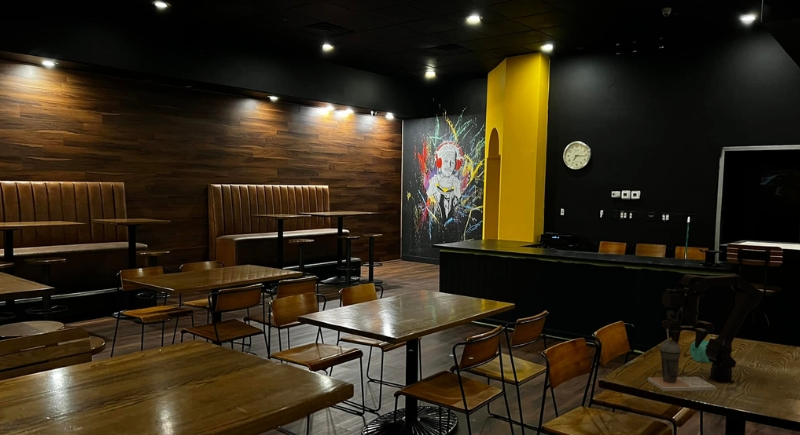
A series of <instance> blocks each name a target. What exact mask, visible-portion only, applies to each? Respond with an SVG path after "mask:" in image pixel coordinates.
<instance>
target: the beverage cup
mask: <svg viewBox="0 0 800 435" xmlns="http://www.w3.org/2000/svg"><path fill="white" fill-rule="evenodd" d="M666 336H667V340H665V341H663V342H662V344H661V345H660V347H659V353H660V358H661V360H660V361H661V370H662V371H661V372H662V374H661V375H662V377H663V381H664V382H667V383H676V380H677V377H678V370H679V364H680V363H679V362H680V357H681V348H680V345H679V343H678V344H677V343H676V342H675V341H672V339H670V333H669V332H668V329H667V330H666Z"/></svg>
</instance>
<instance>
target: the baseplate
mask: <svg viewBox="0 0 800 435" xmlns="http://www.w3.org/2000/svg"><path fill="white" fill-rule="evenodd" d="M647 382H649V383H650V384H652V385H653V386H655V387H657V388H658V389H659V390H661V391H663V392H688V391H689V392H691V391H693V392H694V391H695V392H696V391H717V386H715V385H713V384H711V383H710V382H708V381H706V380H704V379H703V378H700V377H699V376H677V380H676V383H667V382H664V381H663V376H661V377H647Z"/></svg>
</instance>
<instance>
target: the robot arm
mask: <svg viewBox="0 0 800 435" xmlns="http://www.w3.org/2000/svg"><path fill="white" fill-rule="evenodd" d="M716 287H731V289H732V290H733V292H735V293H736V294H735V297H734V302H735V305H734V307H733V309H732V311H731V313H730V314H729V316H728V318H727V320H726V322H725V324H724V326H723V327H722V329H721V331H720V333H719V335H718V336H716V338H712V337H711V338H710V339H709V340H708V341H709V342H708V344H707V345H706V346H705V347H707V348H706V350H705V352H706V355H707V357H708V359H709V362H712V363H711V367H710V376H708V378H709V379H710V380H712V381H714V382H716V383H719V384H720V383H724V384H725V383H735V380H733V377H732V376H733V368H736V366H737V361H736V360H735V359H734V358H733V357H732V356H731V355H732V352H733V349H732V348H733V341H734V339H735V337H736V335H737V334H738V332H739V331H740V328H741V326H743V323H744V321H745V320H746V317H747V315H748V313H749V312H750V311H751V310H753V309H754V308H756V307H757V306H758V305H759V303H760V302H761V301H762V299H763V293H762V291H761V290H760V289H759V288H757V287H756V286H755V285H753V284H752V283H750V282H749V281H747V280H746V279H745V278H744V277H743V276H742V275H740V274H732V273H731V274H725V275H712V276H711V275H710V276H709V275H708V276H701V275H695V274H684V275H682V277H681V279H680V281H679V282H678V283H677V285H676V286H675V287H674V289H670V288H666V289H665V292H663V294H662V296H661V303H662V305H663V306H664V307H665V308H678V310H677V312H675V311H674V310H672V309H671V310H667V311H666V319H665V320H663V321H662V322H661V328H663V329H664V330H666V331H667V329H668V333H669V336H670V338H671V340H672V341H675V342H676V343H677V344H678V345H679V341H680V338H681V337H680V336H681V331H680V330H681V329H693V330H694V332H695V339H694V341H695V348H698V347H699V345H700V344H701V343H702V341H703V340H704V341H705V338H706V337H707V336H708V335H709V334H711V333H712V332H714V330H715V327H714V325H713V323H712V322H708V321H705V320H698V316H700V315H701V312H700V311H699V301H700V298H705V296H706V295H705V294H703V292H702V291H704V290H706V289H708V288H716ZM667 319H668V320H667Z"/></svg>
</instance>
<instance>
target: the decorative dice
mask: <svg viewBox="0 0 800 435" xmlns="http://www.w3.org/2000/svg"><path fill="white" fill-rule="evenodd" d="M708 342H709V340H705V339H704V340H703V341H702V343H701V344H700V345H699V347H698V348H695V340H694V341H693V342H691V344H690V347H689V353H690V356H691V358H692V359H693V360H694V361H696V362H698V363H703V364H712V362H709V359H708V357H707V355H706V352H705V350H706V348H707V347H705V346H706V345H707V344H708Z"/></svg>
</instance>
